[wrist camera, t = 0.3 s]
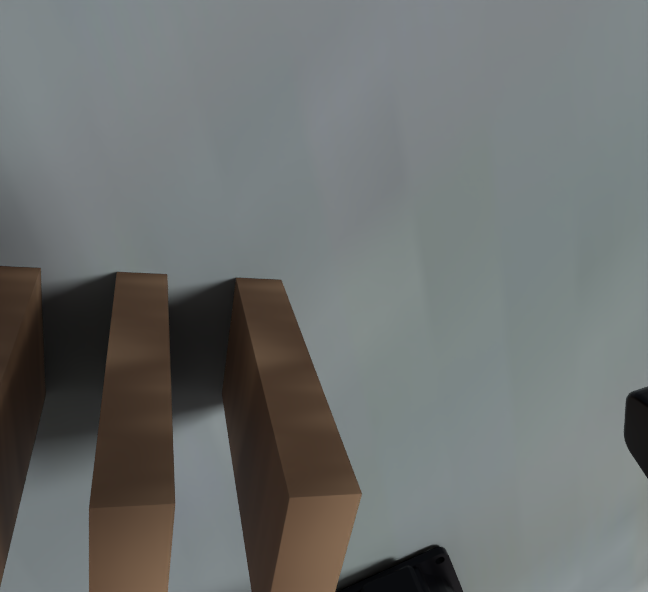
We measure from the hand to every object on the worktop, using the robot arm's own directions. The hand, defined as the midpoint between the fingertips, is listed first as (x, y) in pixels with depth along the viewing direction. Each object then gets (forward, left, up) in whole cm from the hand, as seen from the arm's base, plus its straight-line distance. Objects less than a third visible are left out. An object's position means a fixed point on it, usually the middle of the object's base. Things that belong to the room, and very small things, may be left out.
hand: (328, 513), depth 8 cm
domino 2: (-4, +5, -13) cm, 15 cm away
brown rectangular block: (-6, +2, -13) cm, 15 cm away
